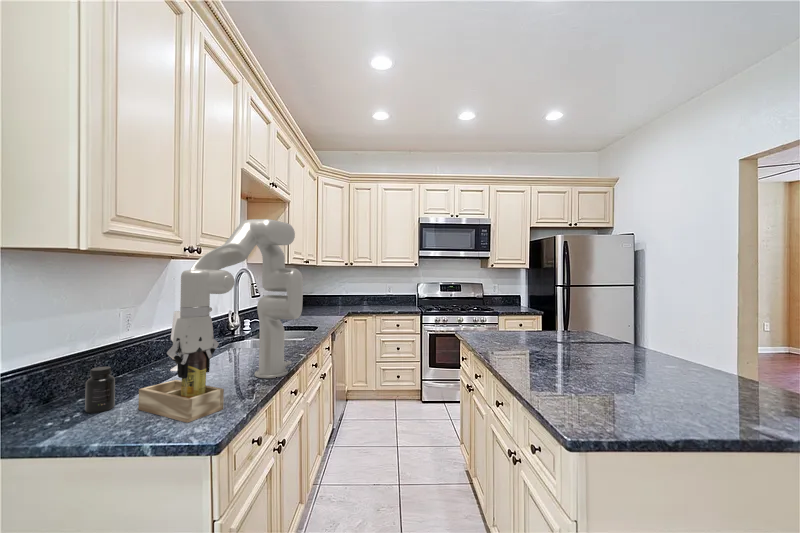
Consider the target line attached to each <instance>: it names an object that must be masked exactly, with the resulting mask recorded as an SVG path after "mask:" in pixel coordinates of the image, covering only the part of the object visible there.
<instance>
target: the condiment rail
mask: <svg viewBox="0 0 800 533" xmlns="http://www.w3.org/2000/svg"><path fill="white" fill-rule="evenodd" d="M181 382H182V379H181V380H179V379H173V380H170V381H165V382H162V383H157V384H154V385H149V386H145V387H141V388H139V389H138V404H137V405H138V408H137V409H138V410H139V411H142V412H145V413H150V414H153V415H157V416H161V417H164V418H168V419H172V420H176V421H179V422H183V423H187V424H188V423H190V422H193V421H196V420H198V419H202V418H205V417H206V416H210V415H212V414H215V413H217V412H220V411H223V410H224V402H225V401H224V400H225V399H224V395H225V394H224V391H225V389H224V388H223V387H216V386H212V385H206V386H205V393H204V394H201V395H198V396H195V397H192V398H186V397H181Z"/></svg>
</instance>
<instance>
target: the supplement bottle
mask: <svg viewBox="0 0 800 533" xmlns="http://www.w3.org/2000/svg"><path fill="white" fill-rule="evenodd" d="M89 373H90V374H89V377H90V378H89V379H87V380H86V381H85V390H84V391H85V392H84V393H85V394H84V395H85V396H84V397H85V399H84V400H85V402H84V403H85V404H84V411H85V412H86V413H88V414H99V413H103V412H107V411H110V410H112V409H113V408H114V407H115V402H116V398H115V397H116V377H114V375H112V367H111V366H97V367H93V368H91V369H90V371H89ZM98 412H99V413H98Z"/></svg>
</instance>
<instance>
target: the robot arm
mask: <svg viewBox="0 0 800 533" xmlns="http://www.w3.org/2000/svg"><path fill="white" fill-rule="evenodd" d="M295 238H296V232H295V228H294V227H293V226H292V225H291V223H288V222H284V221H279V220H275V219H270V218H269V219H267V218H260V219H258V218H255V219H254V218H253V219H252V218H251V219H245V220H243V221H241V222H240V223H239V224H238V226H237V227H236V229H234V231H233V232H232V234H231V235H230V236H229V237H228V239H227V240H226V241H225V242H224V244H222V245H220V246H218V247H216V248H215V249H214V248H213V249H212V250H211V251H209V252H207V253H205V254H204V255H202V256H201V257H199V258H198V259H197V260H196V261H195V263H194V264H193V265H192V266H191V268H190V269H188V270H183V271H182V272H181V274H180V298H179V299H180V300H179V301H180V304H179V306H180V307H179V311H180V318H177V321H176V325H175V330H174V337H173V342H172V346H171V347H170V348H169V349H168V350H167V352H166V355H167V356H168V357H170V358H171V359H172V360H173V361H174V362H175V364H176V365H178V369H177V371H176V372H177V373H176V374H177V377H178V378H180V379H182V378H184V379H185V378H187V373H188V365H187V364H185V363H186V360H187V358H188V355H189V354H190V353H194V352H196V351H197V349H198V348H199V347H200V348H201V349H202V351H203V353H204V355H205V356H206V374H209V372H210V366H211V365H210V364H211V359H212V357H213V355H214V353H215V351H216V349H217V348H218V347H219V345H220V343H219V342H218V341H217V340H216V339H215V338H214V327H213V321H212V319H213V318H212V316H211V315H210V314H211V312H212V311H213V308H212V307H210V306H211V305H210V303H211V302H210V300H211V299H210V298H211V295H222V294H223V295H224V294H227V293H229V292H230V291H232V289H233V288H234V285H235V278H234V276H233V274H232V273H231V272H230V271H227V270H224V269H225V268H228V267H232V266H235V265H238V264H240V263H243V262H244V261H246V260H247V259H248V257H249V256H250V255H251V253H252V251H253V250H254V248H255V247H256V246H257V248H258V250H259V251H260V253H261V256H262V257H261V258H262V269H261V271H262V274H261V275H262V276H261V284H262V288H263V290H265V291H268V292H275V293H276V292H277V293H278V292H279V293H282V292H284V293H286V294H287V295H285V294H284V295H283V294H267V295H264V296H262V297H261V298H260V299H258V301H257V306H256V308H257V310H256V311H257V315H258V322H259V340H258V341H259V342H258V344H259V346H258V349H259V350H258V352H259V353H258V369H257V370H256V371H255V372H254V377H256V378H259V379H276V377H277V378H281V377H284V376H287V375H288V373H289V370H288V369H286V367H289V366H292V360H285V332H286V330H285V326H284V324H283V323H282V321H281V320H288V321H289V320H293V321H294V320H297V319H299V318H300V317H301V315H302V311H303V301H304V300H303V298H304V297H303V296H304V295H303V294H304V290H303V289H304V278H303V274H302V272H301V271H300V270H299V269H298V268H295V267H294V268H293V267H286V264H285V263H286V262H285V261H286V257H285V253H284V251H283V249H282V248H281V247H280V246H289V245H291V244H292V243H293V242H294V241H295ZM200 337H201V338H202V341H199V338H200Z"/></svg>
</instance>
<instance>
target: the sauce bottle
mask: <svg viewBox="0 0 800 533" xmlns="http://www.w3.org/2000/svg"><path fill="white" fill-rule="evenodd" d="M199 341H202V338H201V337H200V338H199ZM185 364H187V365H188V373H187V378H185V379H184V378H181V381H182V382H181V397H186V398H192V397H195V396H198V395H201V394H204V393H205V386H207V382H206V380H207V373H206V356H205V355H204V353H203V351H202V349H201V348H200V347H199V348H198V349H197V351H196V352H194V353H190V354H189V355H188V358H187V360H186V363H185Z"/></svg>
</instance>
